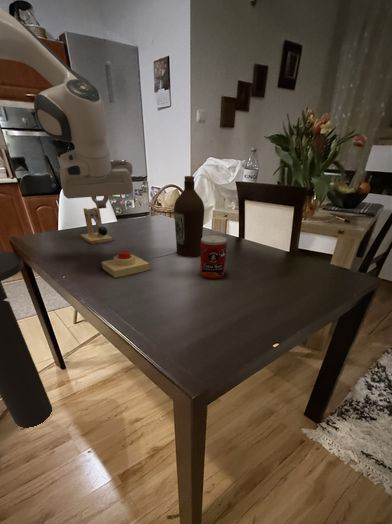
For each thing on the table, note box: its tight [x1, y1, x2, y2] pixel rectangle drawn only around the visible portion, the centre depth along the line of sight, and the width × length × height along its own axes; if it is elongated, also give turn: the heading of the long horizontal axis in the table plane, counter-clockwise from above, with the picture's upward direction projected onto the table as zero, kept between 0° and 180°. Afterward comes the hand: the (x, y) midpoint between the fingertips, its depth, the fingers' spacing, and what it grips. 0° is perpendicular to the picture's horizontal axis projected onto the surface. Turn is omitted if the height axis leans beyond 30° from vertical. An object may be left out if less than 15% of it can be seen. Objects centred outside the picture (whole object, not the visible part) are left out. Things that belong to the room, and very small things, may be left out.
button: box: [117, 250, 131, 259], centre depth 89 cm, size 4×4×2 cm
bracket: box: [80, 207, 113, 245], centre depth 117 cm, size 12×9×12 cm
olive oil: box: [173, 175, 205, 258], centre depth 100 cm, size 11×11×25 cm
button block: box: [101, 253, 151, 279], centre depth 91 cm, size 12×10×4 cm
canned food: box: [199, 235, 228, 280], centre depth 86 cm, size 8×8×11 cm
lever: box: [87, 208, 108, 236], centre depth 113 cm, size 13×3×3 cm
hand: (101, 207), depth 89 cm, fingers closed
